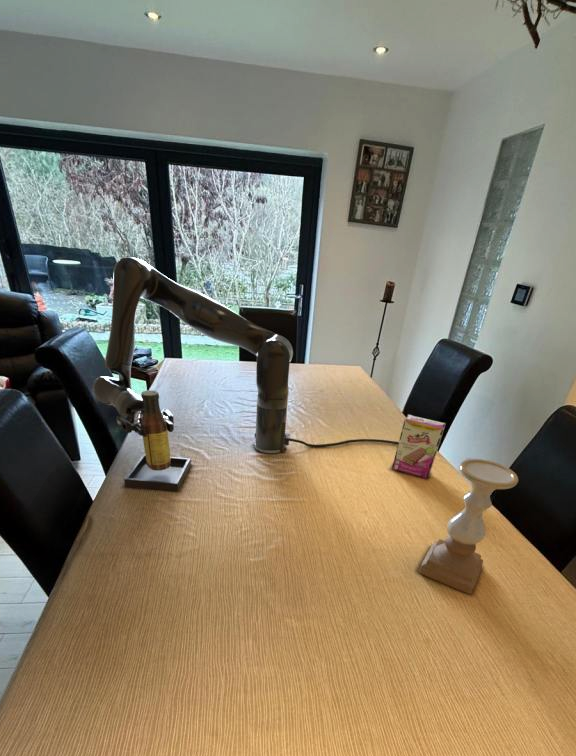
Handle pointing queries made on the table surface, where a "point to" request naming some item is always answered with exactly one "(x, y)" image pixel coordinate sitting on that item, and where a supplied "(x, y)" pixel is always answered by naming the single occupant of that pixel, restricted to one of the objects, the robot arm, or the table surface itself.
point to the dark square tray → (158, 475)
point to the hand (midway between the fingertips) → (158, 430)
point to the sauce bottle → (155, 432)
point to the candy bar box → (418, 446)
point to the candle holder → (467, 527)
